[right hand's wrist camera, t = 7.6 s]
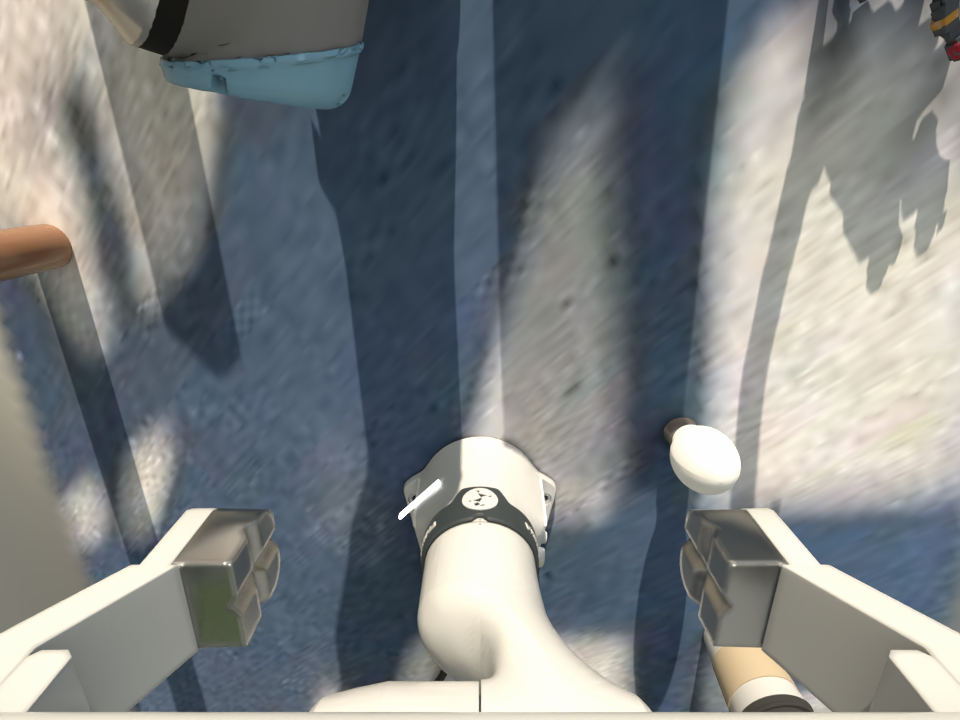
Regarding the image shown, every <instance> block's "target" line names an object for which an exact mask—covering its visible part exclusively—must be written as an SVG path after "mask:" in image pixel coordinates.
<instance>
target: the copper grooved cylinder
mask: <svg viewBox="0 0 960 720" xmlns="http://www.w3.org/2000/svg"><path fill="white" fill-rule="evenodd" d="M71 256H72V247H71V244H70V242H69V240H68V238H67V237H66V235H65V234H64V233H63V232H62V231H60V230H59V229H58V228H56V227H54V226H51V225H48V224H38V225H31V226H23V227H15V228H8V229H0V282H2V281H6V280H10V279H14V278H18V277H23V276H27V275H31V274H35V273H39V272H43V271H47V270H52V269H56V268H60V267H63V266H65V265H66V264H67V263H68V262H69V261H70V259H71Z"/></svg>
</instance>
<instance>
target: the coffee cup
mask: <svg viewBox="0 0 960 720" xmlns="http://www.w3.org/2000/svg"><path fill="white" fill-rule="evenodd" d="M703 639H704V642H705V645H706V647H707V650H708V653H709V655H710V658H711V661H712V665H713V669H714V672H715V675H716V677H717V680H718V683H719V685H720V688H721V690H722V693H723V696H724V698H725V701H726V704H727V706H728V709H729V712H814V711H813V709H812V707H811V705H810V704H809V703H808V702H807V701H805V700H804V699H803V697H802V696H801V694H800V693H799V690H798V688H797V687H796V685H795V684H794V682H793V681H792V679H791V678H790V677H789V675H788V674H787V672H786V671H785V670H784V669H783V668H781V667H780V666H779V665H778V664H777V663H776V662H775V661H773V660H772V659H771V658H770V657H769V656H768V655H766V654H765V653H764V652H763V651H762V650H761V649H762V648H753V647H718V646H713V645H712V643H711V641H710V639H709V637H708V635H707V633H706V631H704V635H703Z"/></svg>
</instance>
